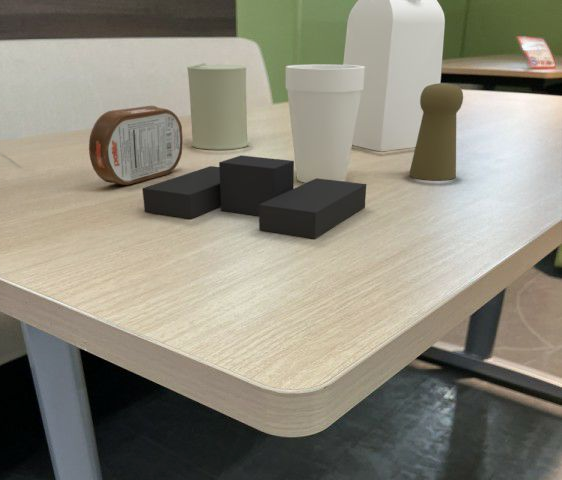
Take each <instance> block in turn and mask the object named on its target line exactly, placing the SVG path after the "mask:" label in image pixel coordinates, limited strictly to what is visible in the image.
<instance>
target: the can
mask: <svg viewBox="0 0 562 480" xmlns="http://www.w3.org/2000/svg"><path fill="white" fill-rule="evenodd" d="M186 69H187V76H188V77H187V79H188V88H189V91H188V92H189V105H190V117H191V118H190V120H191V122H190V123H191V146H192V147H193V148H196V149H200V150H209V151H225V150H227V151H229V150H238V149H243V148H247V147H248V146H249V141H248V123H247V122H248V121H247V119H248V117H247V66H246V65H239V64H238V65H237V64H207V63H206V62H203V63H198V64H194V65H188V66H187V67H186Z"/></svg>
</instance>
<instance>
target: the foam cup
mask: <svg viewBox="0 0 562 480" xmlns="http://www.w3.org/2000/svg"><path fill="white" fill-rule="evenodd" d="M364 71H365V67H364V66H357V65H343V64H332V63H331V64H330V63H329V64H328V63H327V64H326V63H325V64H322V63H320V64H319V63H318V64H317V63H315V64H312V63H311V64H291V65H286V66H285V89H286V90H287V99H288V109H289V118H290V127H291V138H292V146H293V155H294V166H295V173H296V175H297V176H296V180H297V181H299V182H301V183H303V184H305V183H307V182H309V181H311V180H314V179H316V178H318V179H327V180H335V181H344V182H347V181H346V179H347V175H348V170H349V164H350V159H351V153H352V147H353V145H352V142H353V136H354V130H355V125H356V119H357V113H358V108H359V102H360V96H361V91H362V90H363V87H364Z"/></svg>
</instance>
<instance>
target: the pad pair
mask: <svg viewBox="0 0 562 480" xmlns="http://www.w3.org/2000/svg"><path fill="white" fill-rule="evenodd" d="M141 191H142V199H143V208H144V210H143V211H144V212H145V213H151V214H157V215H162V216H169V217H175V218H181V219H182V218H183V219H187V220H189V219H190V220H192V219H194V218H197V217H199V216H202V215H204V214H206V213H208V212H211V211H213V210H215V209H218V208H221V193H220V170H219V166H213V165H210V166H207V167H205V168H201V169H198V170H194V171H191V172H189V173H185V174H182V175H179V176H176V177H173V178H170V179H166V180H163V181H160V182H157V183H154V184H151V185H148V186H145V187H142V190H141ZM366 194H367V184H366V183H360V182H351V181H335V180H327V179H318V178H316V179H314V180H311V181H309V182H307V183H303V184H301V185H298V186H296V187H294V189H292V190H290V191H287V192H285V193H283V194H281V195H279V196H277V197H274V198H272V199H270V200H268V201H266V202H264V203H261V204H259V216H258V226H259V227H258V230H259V231H263V232H270V233H276V234H282V235H287V236H295V237H301V238H308V239H312V240H313V239H314V240H315V239H317V238H319V237H320V236H322V235H323V234H325V233H326V232H328V231H329V230H331V229H333V228H334V227H336V226H337V225H340V223H342V222H344V221H345V220H347V219H349V218H350V217H352V216H353V215H355V214H356V213H358V212H360V211H361V210H362V209H364V208H366V199H367V198H366V197H367V195H366Z"/></svg>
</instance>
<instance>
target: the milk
mask: <svg viewBox="0 0 562 480" xmlns="http://www.w3.org/2000/svg"><path fill="white" fill-rule="evenodd" d="M445 27H446V18H445V12H444V11H443V8H442V6H441V5H440V3H439V1H438V0H357V1H356V2H355V4H354V5H353V7H352V8H351V10H350V12H349V14H348V17H347V23H346V33H345V42H344V54H343V63H342V65H357V66H364V67H365V71H364V87H363V90H362V91H361V96H360V102H359V108H358V113H357V119H356V125H355V130H354V136H353V142H352V146H355V147H359V148H363V149H367V150H371V151H376V152H388V151H397V150H406V149H412V148H414V149H415V147H416V143H417V138H418V134H419V130H420V125H421V121H422V117H423V110H422V108H421V105H420V97H421V93H422V91H423V90H424V88H425V87H427V86H428V85H432V84H438V83H441V80H442V68H443V67H442V66H443V54H444V39H445Z"/></svg>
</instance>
